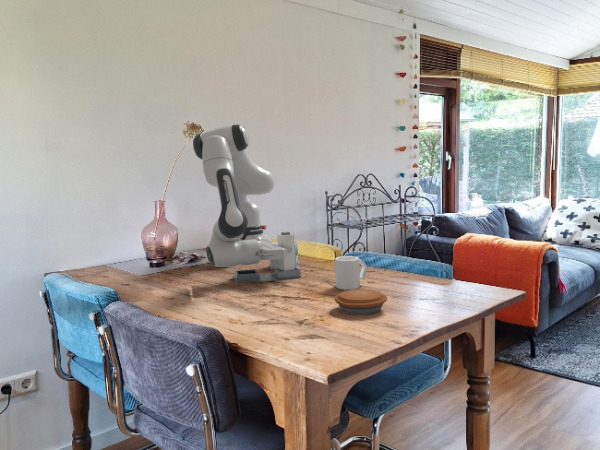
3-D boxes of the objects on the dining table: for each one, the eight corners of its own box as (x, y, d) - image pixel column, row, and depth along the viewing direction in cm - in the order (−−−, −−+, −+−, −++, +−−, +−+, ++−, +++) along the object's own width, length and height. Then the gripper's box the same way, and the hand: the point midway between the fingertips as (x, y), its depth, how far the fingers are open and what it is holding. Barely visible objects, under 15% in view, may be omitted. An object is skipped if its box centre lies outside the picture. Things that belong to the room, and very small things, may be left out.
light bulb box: (298, 267, 228) (297, 241, 226) (297, 271, 221) (296, 244, 219) (272, 267, 229) (271, 241, 227) (270, 271, 222) (269, 244, 221)
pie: (353, 299, 177) (352, 284, 176) (397, 307, 167) (396, 290, 166) (324, 311, 165) (323, 295, 164) (369, 320, 155) (369, 302, 154)
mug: (344, 290, 188) (344, 261, 186) (330, 285, 195) (329, 258, 194) (373, 285, 194) (373, 257, 192) (358, 281, 201) (358, 253, 200)
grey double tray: (236, 286, 199) (236, 276, 198) (232, 279, 210) (232, 269, 210) (302, 280, 204) (302, 271, 204) (295, 273, 216) (295, 265, 215)
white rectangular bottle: (284, 271, 205) (283, 233, 203) (278, 269, 209) (277, 232, 207) (295, 269, 208) (293, 232, 206) (289, 267, 211) (287, 231, 210)
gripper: (261, 247, 193) (298, 243, 198) (244, 239, 211) (278, 236, 216) (261, 265, 193) (299, 261, 198) (244, 256, 212) (279, 252, 217)
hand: (288, 248), depth 208 cm, fingers closed on white rectangular bottle, 5 cm apart
